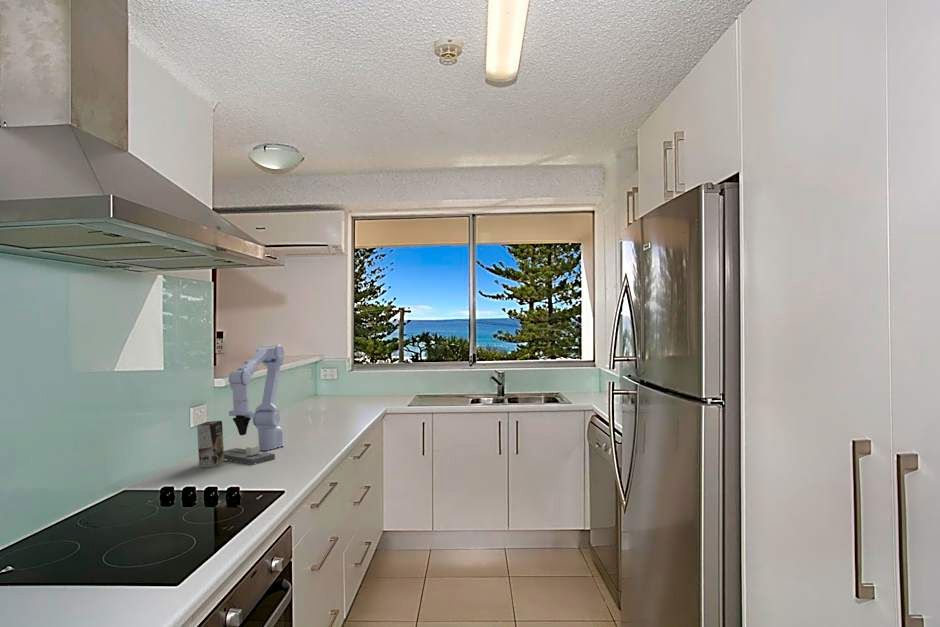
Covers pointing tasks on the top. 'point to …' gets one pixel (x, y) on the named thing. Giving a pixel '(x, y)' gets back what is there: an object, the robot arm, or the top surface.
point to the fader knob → (253, 450)
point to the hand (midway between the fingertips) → (242, 434)
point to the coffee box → (210, 444)
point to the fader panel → (247, 456)
